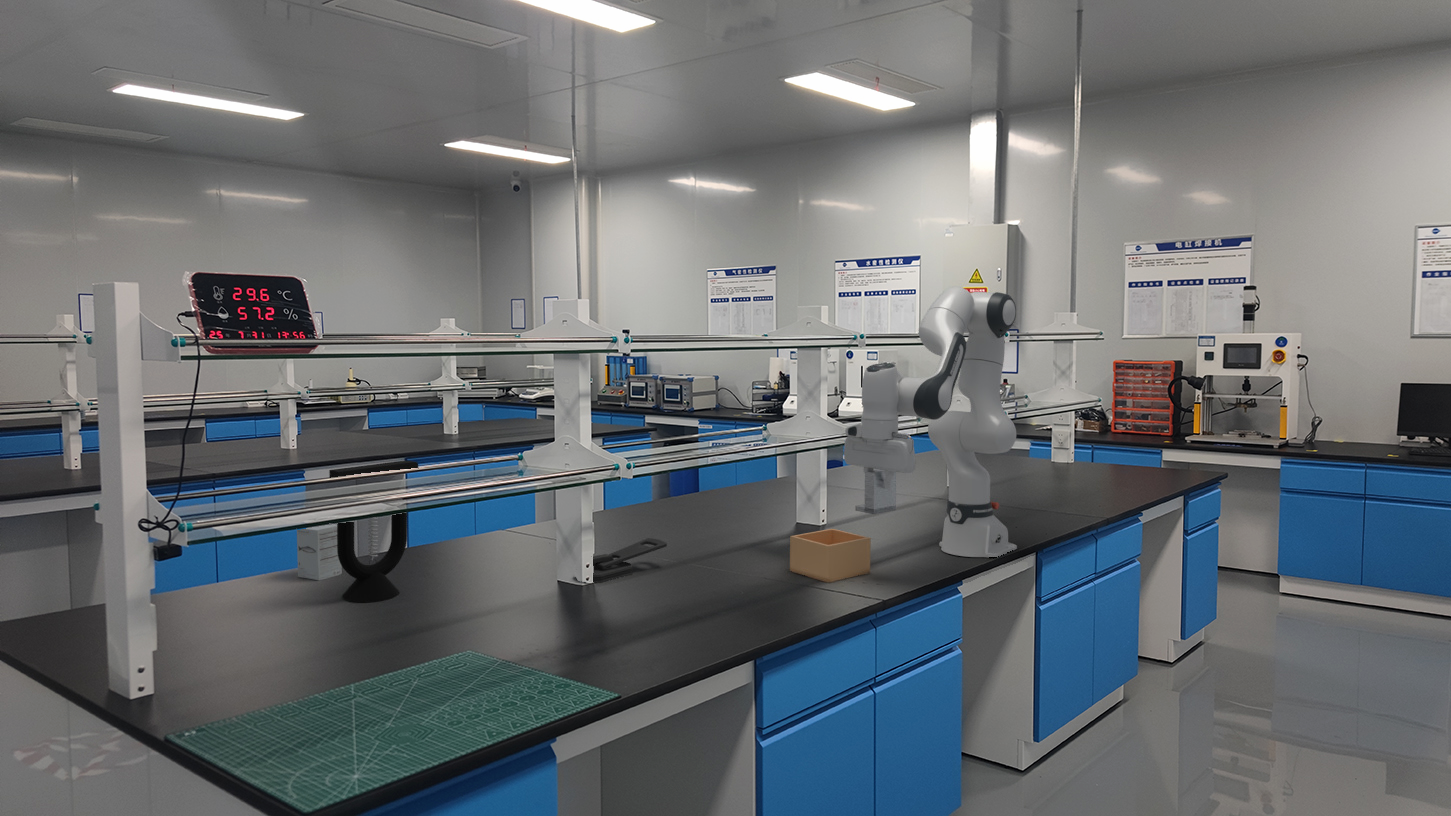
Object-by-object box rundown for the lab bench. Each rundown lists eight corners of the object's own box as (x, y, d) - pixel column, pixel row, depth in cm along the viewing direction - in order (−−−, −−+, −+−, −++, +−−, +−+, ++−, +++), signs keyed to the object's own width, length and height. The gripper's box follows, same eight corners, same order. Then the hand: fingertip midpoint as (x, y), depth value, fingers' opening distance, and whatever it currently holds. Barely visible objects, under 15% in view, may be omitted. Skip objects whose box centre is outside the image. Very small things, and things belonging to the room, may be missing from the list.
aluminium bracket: (873, 514, 216) (874, 473, 215) (855, 510, 221) (855, 470, 220) (895, 510, 221) (896, 469, 220) (877, 506, 226) (877, 467, 225)
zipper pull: (670, 542, 231) (589, 558, 214) (670, 567, 232) (590, 585, 215) (649, 536, 238) (568, 551, 221) (649, 561, 238) (569, 578, 221)
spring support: (352, 609, 195) (348, 472, 192) (318, 600, 201) (314, 467, 199) (430, 587, 212) (427, 461, 210) (396, 579, 219) (393, 457, 216)
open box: (831, 562, 238) (832, 528, 237) (870, 572, 227) (870, 537, 226) (789, 571, 228) (790, 536, 228) (827, 582, 218) (828, 546, 217)
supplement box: (296, 577, 220) (295, 526, 219) (322, 570, 227) (320, 521, 226) (318, 581, 217) (316, 529, 216) (343, 574, 224) (341, 524, 223)
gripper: (922, 433, 211) (920, 491, 213) (857, 426, 227) (856, 480, 228) (904, 435, 207) (903, 494, 209) (840, 428, 223) (839, 483, 225)
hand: (878, 487), depth 219 cm, fingers closed on aluminium bracket, 3 cm apart
